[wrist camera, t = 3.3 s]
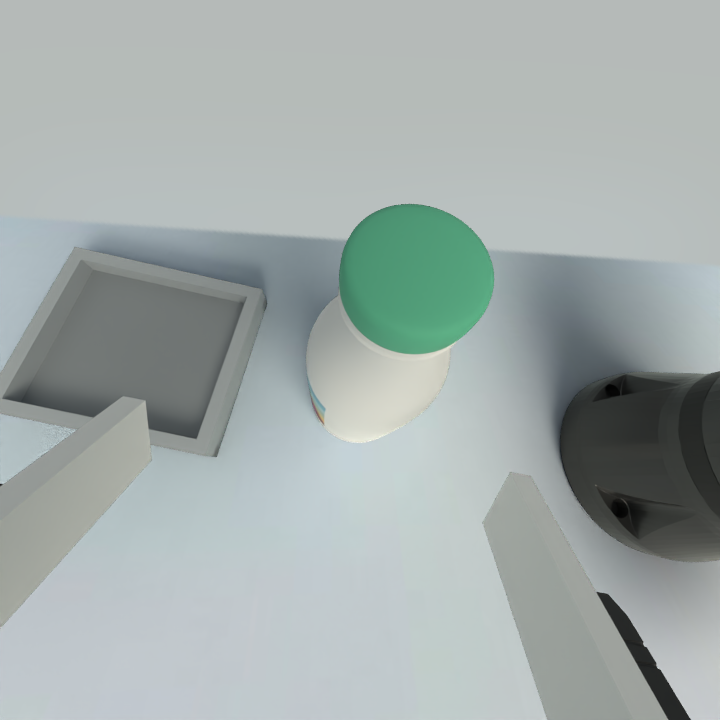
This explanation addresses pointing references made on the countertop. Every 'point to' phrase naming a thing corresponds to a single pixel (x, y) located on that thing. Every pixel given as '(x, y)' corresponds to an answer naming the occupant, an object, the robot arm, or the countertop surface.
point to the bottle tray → (135, 349)
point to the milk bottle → (395, 319)
